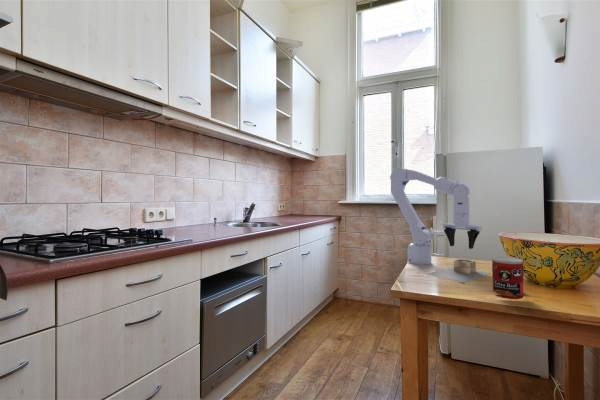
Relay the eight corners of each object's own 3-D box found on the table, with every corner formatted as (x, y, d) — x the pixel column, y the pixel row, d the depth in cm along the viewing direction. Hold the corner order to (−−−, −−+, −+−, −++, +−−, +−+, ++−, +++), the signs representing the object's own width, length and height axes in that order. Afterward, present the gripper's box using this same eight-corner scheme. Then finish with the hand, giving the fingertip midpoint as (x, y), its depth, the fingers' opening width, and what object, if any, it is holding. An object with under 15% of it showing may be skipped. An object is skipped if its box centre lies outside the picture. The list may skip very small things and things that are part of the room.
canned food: (489, 295, 90) (489, 259, 90) (495, 289, 95) (495, 255, 95) (520, 301, 84) (520, 263, 84) (525, 294, 90) (525, 258, 90)
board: (426, 277, 110) (426, 274, 110) (453, 268, 122) (453, 266, 122) (465, 286, 99) (464, 282, 99) (491, 276, 111) (491, 272, 111)
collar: (453, 271, 114) (453, 260, 114) (461, 268, 117) (461, 258, 117) (469, 274, 109) (469, 263, 109) (476, 271, 113) (476, 261, 113)
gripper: (438, 213, 124) (438, 245, 125) (475, 215, 112) (475, 250, 113) (447, 212, 128) (448, 244, 129) (484, 214, 116) (484, 248, 117)
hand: (461, 247), depth 121 cm, fingers open, 7 cm apart
